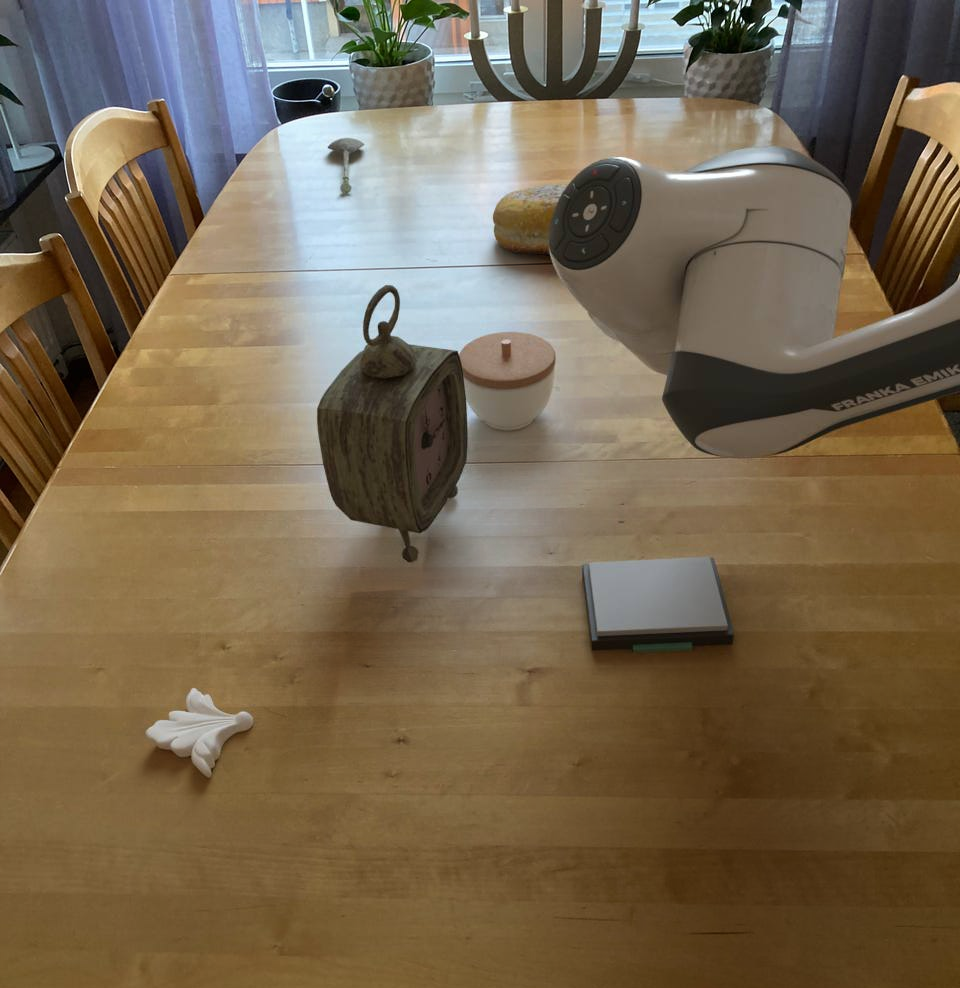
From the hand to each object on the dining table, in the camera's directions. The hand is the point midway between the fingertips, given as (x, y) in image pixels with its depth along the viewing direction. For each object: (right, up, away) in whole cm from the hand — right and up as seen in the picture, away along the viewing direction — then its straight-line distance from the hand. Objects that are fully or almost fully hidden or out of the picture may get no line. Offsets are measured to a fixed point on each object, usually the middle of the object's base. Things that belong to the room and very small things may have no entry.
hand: (732, 373), depth 87 cm
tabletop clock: (-29, -11, +16) cm, 35 cm away
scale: (-6, -22, +4) cm, 23 cm away
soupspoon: (-45, +58, +86) cm, 113 cm away
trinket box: (-19, +3, +29) cm, 34 cm away
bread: (-7, +34, +60) cm, 69 cm away
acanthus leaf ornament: (-45, -31, -3) cm, 55 cm away
